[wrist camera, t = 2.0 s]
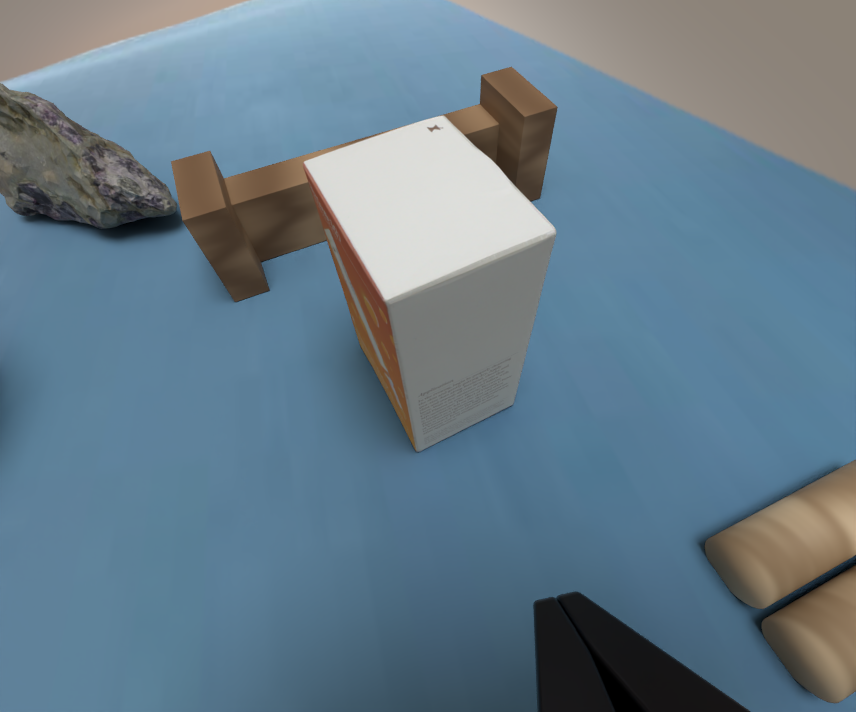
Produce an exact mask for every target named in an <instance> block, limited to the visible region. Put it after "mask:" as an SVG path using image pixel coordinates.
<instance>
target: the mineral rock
mask: <svg viewBox="0 0 856 712" xmlns="http://www.w3.org/2000/svg"><path fill="white" fill-rule="evenodd" d="M0 193H1V194H2V195H3V196H4V197H5V200H6V204H7V205H8V206H9V207H10V208H11V209H12V210H13V211H14V212H15V213H17V214H20V215H24V216H32V215H38V214H44V215H47V216H49V217H52V218H53V219H55V220H75V221H78V222H80V223H87V224H91V225H93V226H95V227H97V228H100V229H105V228H113V227H117V226H119V225H122V224H125V223H127V222H132V221H135V220H139V219H142V218H147V217H160V216H167V215H171V214H173V213H174V212H176V207H177V203H176V202H175V201H174V200H173V199H172V198H171V194H170V191H169V189H168V187H167V186H166V184H164V183H163V182H161V181H160V180H159V179H157V178H156V177H155V176H154V175H152V174H151V173H150V172H149V171H148V170H147V169H146V168H145V167H143V166H142V165H141V164H140V163H139V162H138V161H136V160H135V159H134V157H133V156H132V154H131V153H130V152H129V151H127V150H125V149H124V148H122V147H121V146H119V145H117V144H116V143H114V142H112V141H109V140H106V139H104V138H102V137H100V136H99V135H98V134H95V133H93V132H90V131H89V130H87V129H85V128H83V127H82V126H81V125H79V124H78V123H76V122H74V121H72V120H71V119H69V118H68V117H66V116H65V114H64V113H63V112H62V111H60V110H59V109H58V108H57V107H56V106H55V105H54V104H53V103H51V102H49V101H47V100H44V99H42V98H40V97H38V96H36V95H35V94H32V93H29V92H19V91H13V90H9V89H8V88H7V87H5V86H4V85H3V84H1V83H0Z"/></svg>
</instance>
